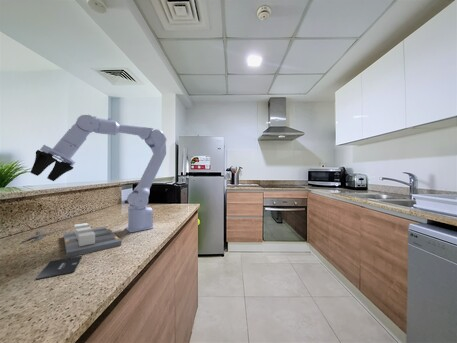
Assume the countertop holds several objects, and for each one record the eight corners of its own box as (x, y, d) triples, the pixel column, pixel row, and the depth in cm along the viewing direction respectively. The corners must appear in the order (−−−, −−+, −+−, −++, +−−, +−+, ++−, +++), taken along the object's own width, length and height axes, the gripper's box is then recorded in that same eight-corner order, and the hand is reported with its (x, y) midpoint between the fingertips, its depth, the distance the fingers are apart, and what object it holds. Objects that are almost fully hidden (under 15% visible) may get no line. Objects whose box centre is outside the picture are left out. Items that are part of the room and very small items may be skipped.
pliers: (71, 224, 88) (57, 237, 70) (71, 226, 88) (57, 240, 70) (42, 227, 83) (20, 242, 65) (42, 229, 83) (20, 244, 65)
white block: (93, 240, 64) (93, 231, 64) (95, 243, 62) (95, 233, 62) (78, 243, 61) (78, 234, 61) (79, 246, 59) (79, 236, 59)
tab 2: (90, 235, 70) (90, 226, 70) (91, 237, 67) (91, 228, 67) (76, 237, 67) (76, 228, 67) (77, 240, 64) (77, 231, 64)
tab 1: (87, 230, 75) (87, 222, 75) (88, 232, 72) (88, 224, 72) (74, 232, 72) (74, 224, 72) (75, 234, 70) (75, 226, 70)
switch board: (107, 229, 81) (107, 225, 81) (121, 245, 65) (121, 240, 65) (63, 237, 72) (63, 233, 72) (67, 257, 55) (67, 252, 55)
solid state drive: (82, 258, 56) (82, 255, 56) (73, 274, 47) (73, 271, 47) (50, 263, 53) (50, 260, 53) (35, 282, 44) (35, 279, 44)
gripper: (70, 147, 75) (46, 177, 70) (44, 129, 61) (12, 165, 57) (87, 155, 75) (64, 185, 71) (65, 139, 62) (34, 175, 57)
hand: (42, 177), depth 64 cm, fingers open, 7 cm apart
